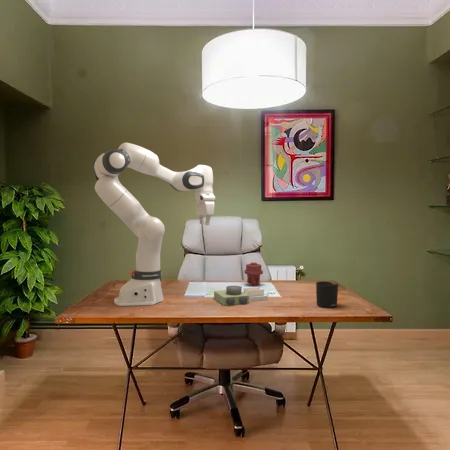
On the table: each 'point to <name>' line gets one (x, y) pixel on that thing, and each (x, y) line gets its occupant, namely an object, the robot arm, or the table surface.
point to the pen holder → (326, 294)
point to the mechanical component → (253, 273)
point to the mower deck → (235, 296)
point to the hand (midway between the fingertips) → (204, 224)
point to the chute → (254, 291)
